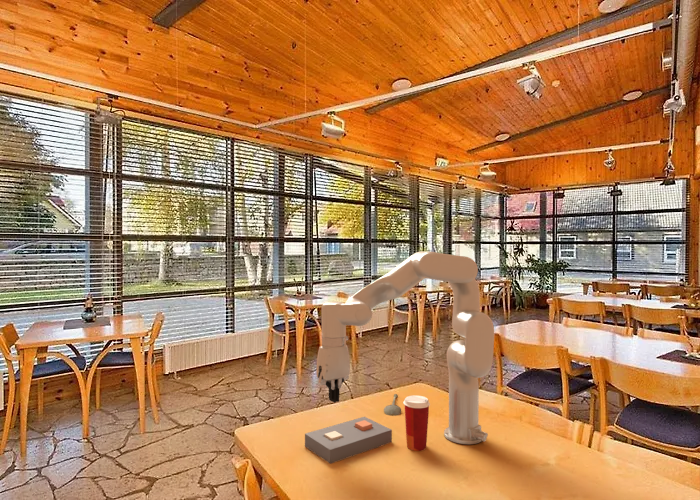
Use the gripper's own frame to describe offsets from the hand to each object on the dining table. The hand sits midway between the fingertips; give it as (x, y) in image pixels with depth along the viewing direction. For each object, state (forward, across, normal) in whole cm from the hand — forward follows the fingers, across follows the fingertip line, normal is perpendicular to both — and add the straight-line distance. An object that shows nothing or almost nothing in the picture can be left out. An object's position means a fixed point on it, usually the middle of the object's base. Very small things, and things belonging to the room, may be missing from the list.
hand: (334, 400), depth 136 cm
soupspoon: (+16, -41, -17) cm, 47 cm away
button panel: (+15, -6, 0) cm, 16 cm away
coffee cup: (+15, -22, +14) cm, 30 cm away
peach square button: (+14, -12, 0) cm, 18 cm away
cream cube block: (+15, 0, 0) cm, 15 cm away
